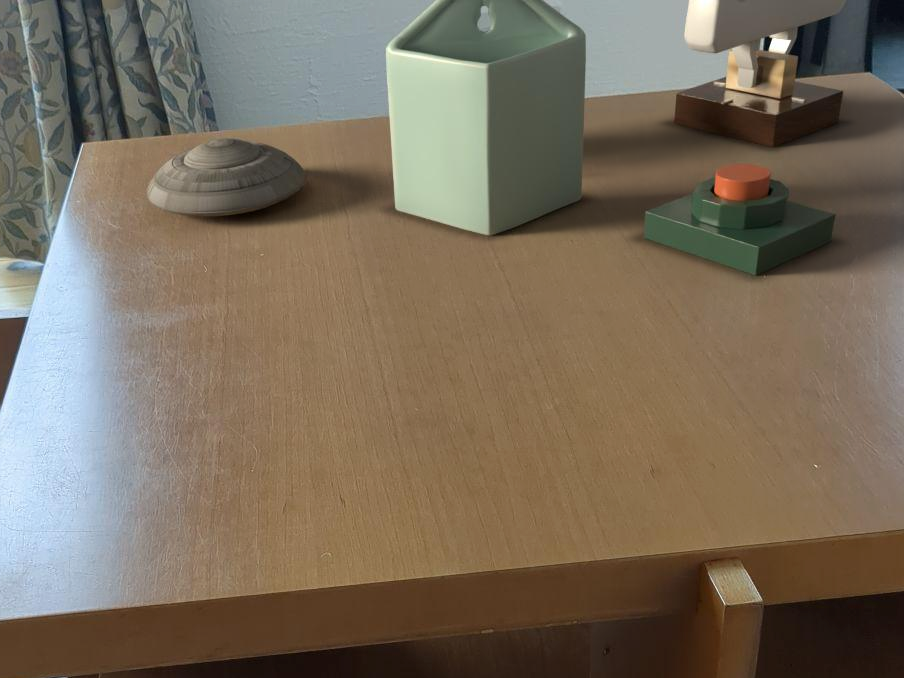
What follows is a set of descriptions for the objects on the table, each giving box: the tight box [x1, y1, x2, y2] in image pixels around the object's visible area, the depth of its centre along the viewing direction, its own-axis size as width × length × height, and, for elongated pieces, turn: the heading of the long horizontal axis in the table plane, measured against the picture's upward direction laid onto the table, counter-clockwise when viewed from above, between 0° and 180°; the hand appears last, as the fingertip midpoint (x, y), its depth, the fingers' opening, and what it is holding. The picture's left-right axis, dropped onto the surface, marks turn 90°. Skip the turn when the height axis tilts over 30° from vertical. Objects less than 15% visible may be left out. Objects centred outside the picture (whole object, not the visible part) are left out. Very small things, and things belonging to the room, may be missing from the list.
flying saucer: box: [145, 138, 308, 217], centre depth 106 cm, size 15×15×6 cm
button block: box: [643, 176, 836, 276], centre depth 90 cm, size 11×9×4 cm
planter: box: [385, 0, 587, 237], centre depth 93 cm, size 16×8×20 cm, turn 87°
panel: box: [673, 76, 844, 148], centre depth 113 cm, size 12×11×3 cm
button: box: [714, 163, 772, 201], centre depth 88 cm, size 4×4×2 cm
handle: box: [726, 49, 799, 99], centre depth 111 cm, size 6×2×4 cm, turn 37°
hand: (760, 82), depth 112 cm, fingers closed on handle, 2 cm apart
